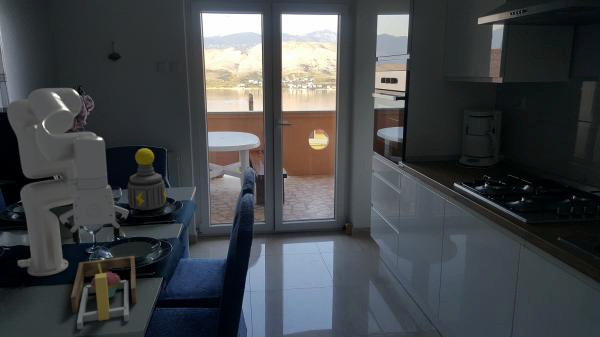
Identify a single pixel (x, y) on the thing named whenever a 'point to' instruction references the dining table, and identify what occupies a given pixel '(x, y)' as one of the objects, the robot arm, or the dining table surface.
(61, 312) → the dining table surface
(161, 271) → the dining table surface
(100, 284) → the frame
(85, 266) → the bay
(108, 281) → the cupcake
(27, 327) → the dining table surface
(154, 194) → the decorative lamp
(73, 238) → the robot arm
